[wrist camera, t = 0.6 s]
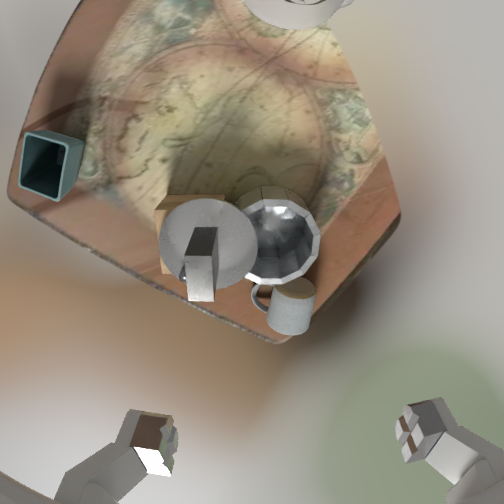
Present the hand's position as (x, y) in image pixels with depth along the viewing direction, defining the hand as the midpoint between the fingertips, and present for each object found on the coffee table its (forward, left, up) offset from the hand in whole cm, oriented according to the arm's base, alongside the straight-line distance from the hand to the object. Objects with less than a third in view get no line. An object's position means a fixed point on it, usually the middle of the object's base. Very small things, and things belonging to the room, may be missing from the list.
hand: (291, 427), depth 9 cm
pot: (+9, +2, -39) cm, 41 cm away
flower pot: (-4, -31, -40) cm, 50 cm away
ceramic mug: (+22, +5, -40) cm, 46 cm away
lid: (+9, -7, -32) cm, 34 cm away
